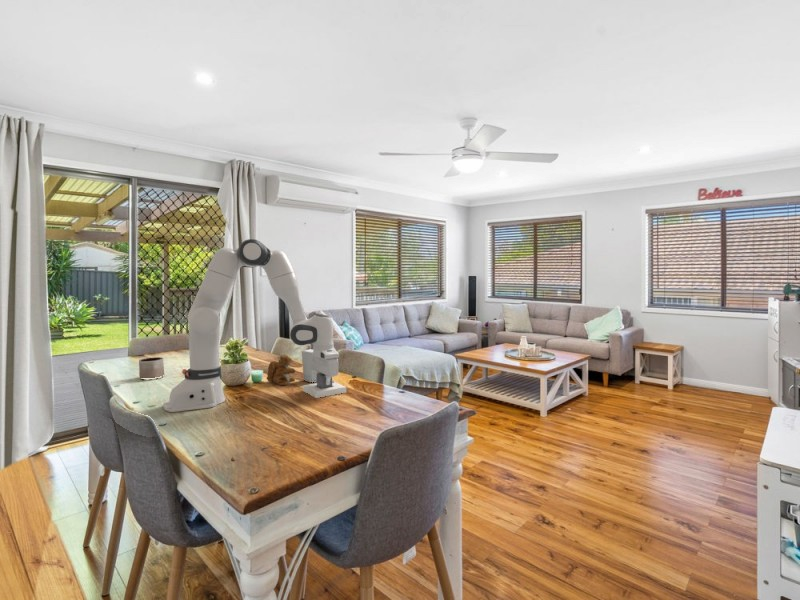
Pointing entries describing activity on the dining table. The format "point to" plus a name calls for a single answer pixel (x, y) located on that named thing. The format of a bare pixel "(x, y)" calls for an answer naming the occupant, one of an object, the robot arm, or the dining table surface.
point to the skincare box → (308, 366)
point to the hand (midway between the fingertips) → (324, 383)
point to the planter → (151, 367)
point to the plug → (322, 381)
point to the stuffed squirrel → (280, 371)
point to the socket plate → (324, 390)
